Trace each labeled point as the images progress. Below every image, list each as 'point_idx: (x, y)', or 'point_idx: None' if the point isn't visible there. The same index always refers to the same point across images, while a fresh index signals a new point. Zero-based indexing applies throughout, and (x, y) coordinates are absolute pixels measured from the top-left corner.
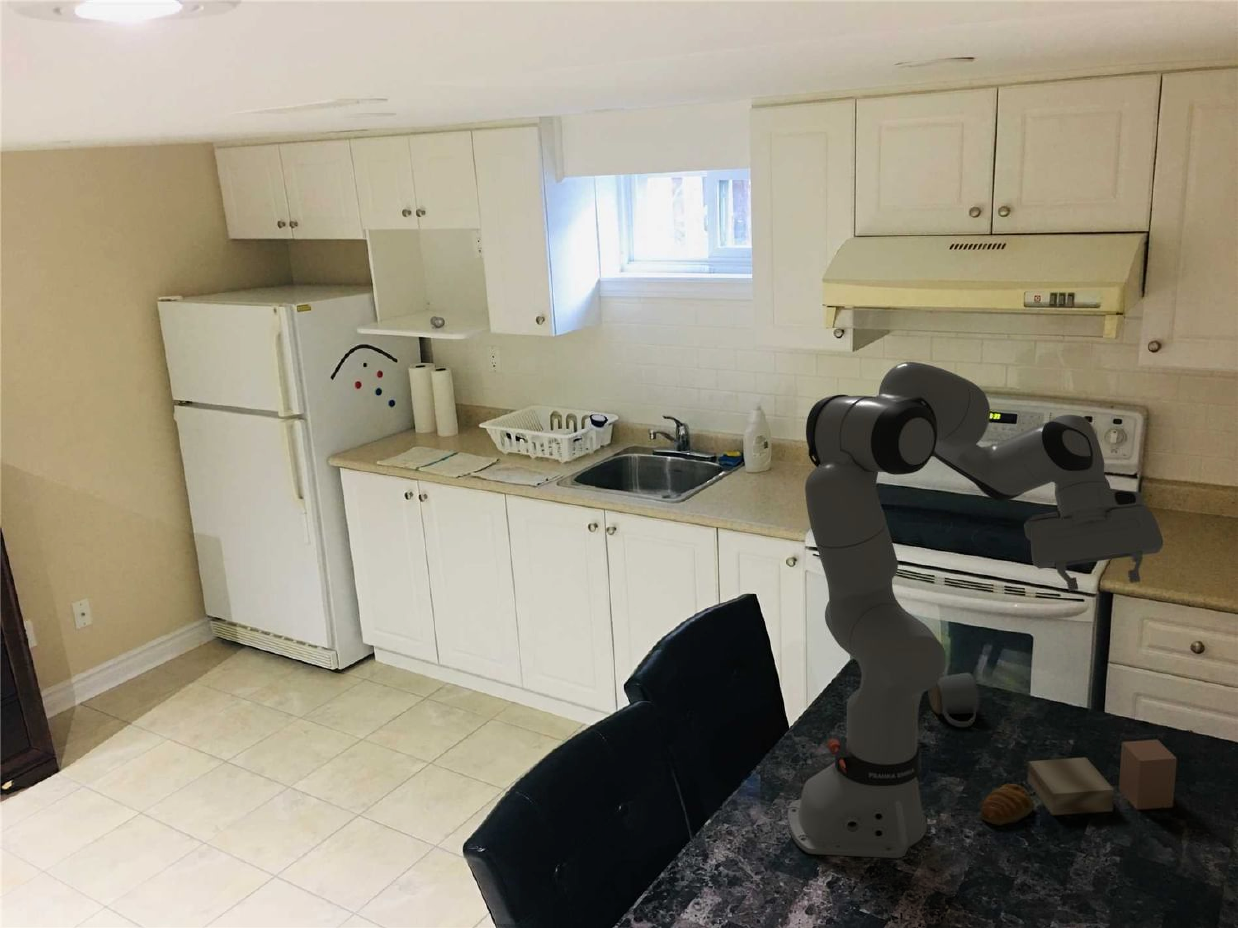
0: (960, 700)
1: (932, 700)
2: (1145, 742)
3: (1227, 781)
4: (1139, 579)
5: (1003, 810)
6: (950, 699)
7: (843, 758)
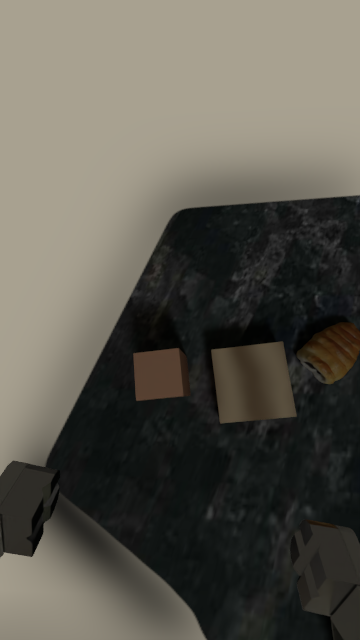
0: None
1: None
2: (154, 393)
3: (73, 407)
4: (17, 462)
5: (340, 329)
6: None
7: None
